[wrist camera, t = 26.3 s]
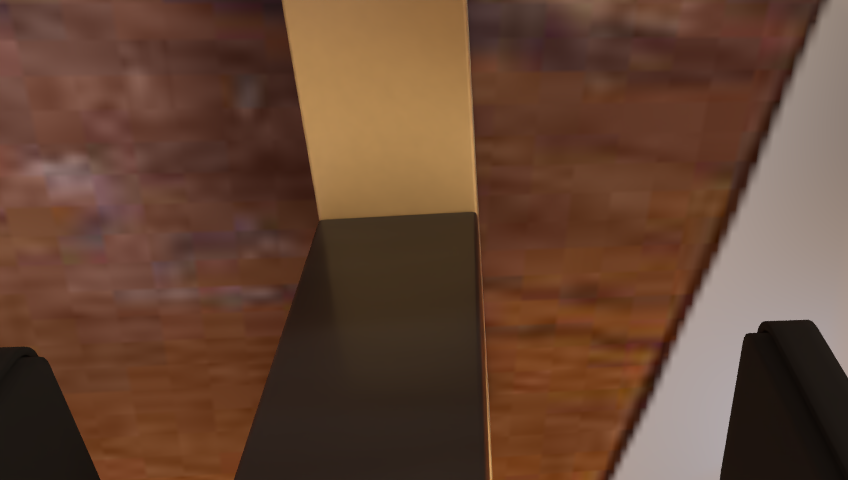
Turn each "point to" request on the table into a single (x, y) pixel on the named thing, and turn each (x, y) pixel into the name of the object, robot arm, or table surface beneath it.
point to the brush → (382, 256)
